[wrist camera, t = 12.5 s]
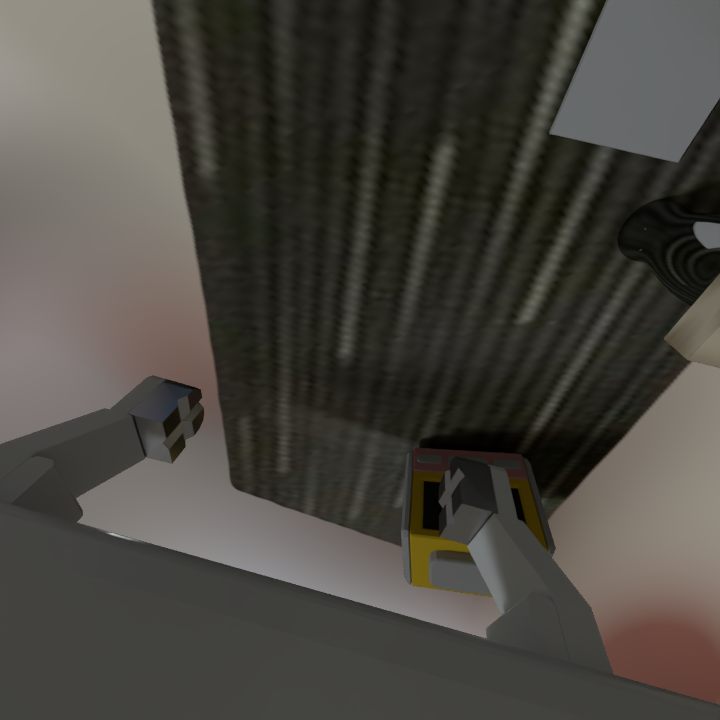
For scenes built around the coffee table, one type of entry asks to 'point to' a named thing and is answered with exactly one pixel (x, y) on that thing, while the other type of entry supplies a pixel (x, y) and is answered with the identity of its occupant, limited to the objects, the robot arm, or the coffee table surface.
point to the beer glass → (674, 246)
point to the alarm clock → (422, 508)
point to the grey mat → (645, 77)
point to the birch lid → (700, 329)
